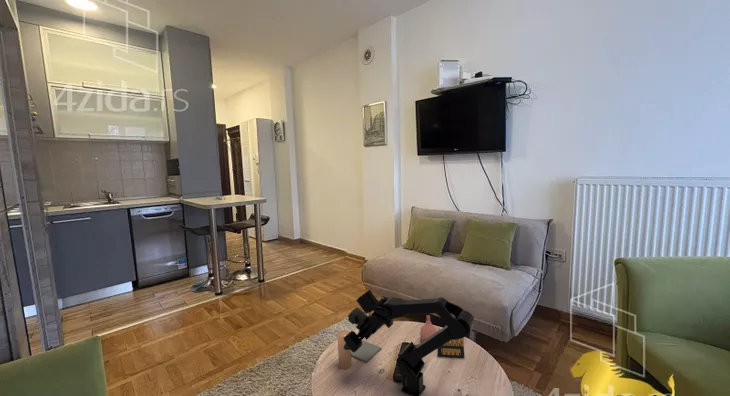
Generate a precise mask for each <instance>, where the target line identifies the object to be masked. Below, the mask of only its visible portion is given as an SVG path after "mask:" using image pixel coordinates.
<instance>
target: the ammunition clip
mask: <svg viewBox="0 0 730 396" xmlns="http://www.w3.org/2000/svg"><path fill="white" fill-rule="evenodd" d="M439 330H440V327H438V329H437V331H439ZM464 338H465V337H464ZM464 338H461V339H459V340H450V341H449V342H447V343H446V344H444V345H442V346H441V347H439V348H438V349H436V351H437V353H436V354H437V357H438V358H449V359H462V360H463V359H465V357H466V355H465V341H464Z"/></svg>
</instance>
